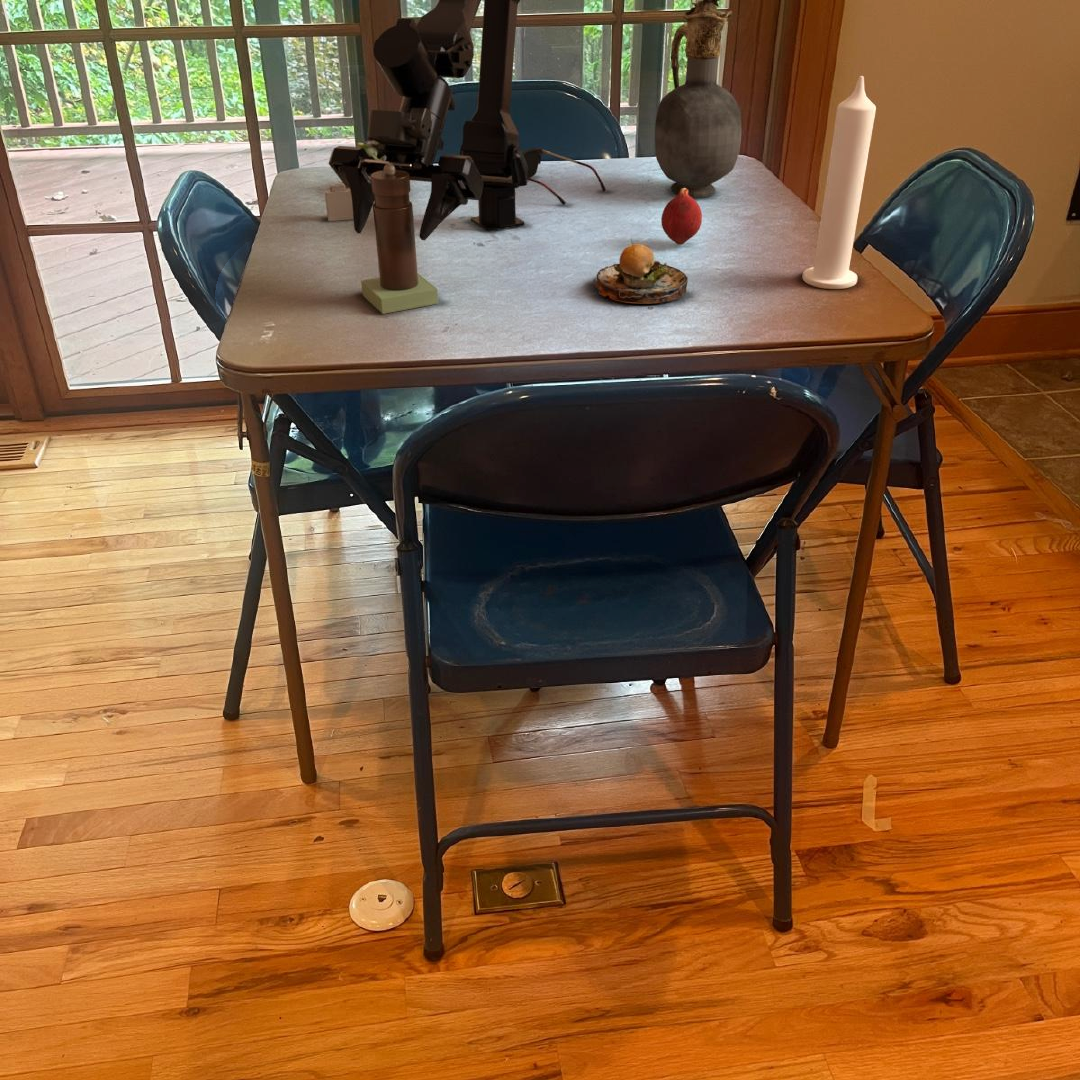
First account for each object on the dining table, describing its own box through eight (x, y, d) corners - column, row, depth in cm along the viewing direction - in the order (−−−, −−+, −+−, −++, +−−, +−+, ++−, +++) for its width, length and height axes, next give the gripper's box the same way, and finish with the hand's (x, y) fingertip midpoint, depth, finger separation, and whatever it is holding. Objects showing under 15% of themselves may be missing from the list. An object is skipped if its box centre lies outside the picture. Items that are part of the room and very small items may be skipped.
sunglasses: (539, 174, 179) (541, 145, 176) (610, 195, 171) (613, 166, 168) (487, 190, 171) (487, 160, 168) (558, 213, 163) (560, 182, 160)
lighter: (328, 221, 157) (322, 168, 152) (327, 218, 158) (321, 165, 154) (374, 217, 158) (369, 164, 154) (372, 214, 160) (367, 162, 155)
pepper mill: (379, 279, 129) (367, 160, 121) (416, 276, 130) (407, 158, 121) (381, 292, 125) (369, 170, 117) (419, 289, 126) (410, 167, 117)
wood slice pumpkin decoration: (704, 294, 129) (710, 236, 125) (631, 312, 124) (633, 253, 120) (648, 268, 138) (651, 213, 133) (577, 284, 132) (577, 228, 128)
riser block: (362, 295, 130) (360, 280, 129) (416, 285, 132) (415, 270, 131) (382, 314, 124) (380, 298, 123) (438, 303, 127) (437, 288, 126)
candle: (826, 292, 129) (859, 83, 115) (791, 276, 135) (818, 74, 121) (868, 283, 132) (905, 77, 118) (831, 268, 137) (863, 69, 123)
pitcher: (681, 207, 162) (696, -3, 145) (637, 178, 177) (646, -15, 160) (742, 201, 164) (764, -6, 148) (694, 173, 179) (709, -17, 163)
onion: (698, 252, 143) (703, 195, 139) (658, 249, 144) (661, 193, 140) (701, 239, 148) (705, 184, 143) (662, 237, 149) (665, 182, 144)
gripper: (326, 75, 120) (291, 193, 117) (470, 83, 115) (437, 207, 112) (363, 130, 130) (332, 240, 128) (497, 140, 125) (467, 255, 123)
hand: (389, 235), depth 122 cm, fingers open, 8 cm apart
